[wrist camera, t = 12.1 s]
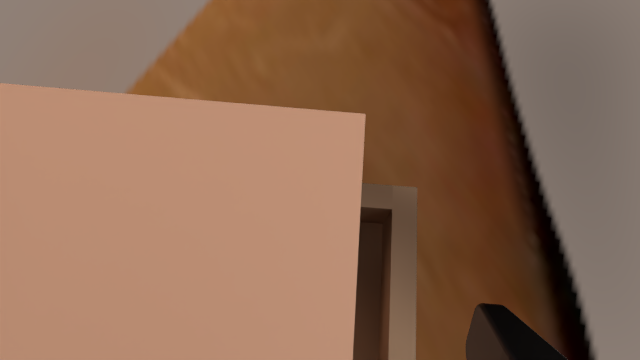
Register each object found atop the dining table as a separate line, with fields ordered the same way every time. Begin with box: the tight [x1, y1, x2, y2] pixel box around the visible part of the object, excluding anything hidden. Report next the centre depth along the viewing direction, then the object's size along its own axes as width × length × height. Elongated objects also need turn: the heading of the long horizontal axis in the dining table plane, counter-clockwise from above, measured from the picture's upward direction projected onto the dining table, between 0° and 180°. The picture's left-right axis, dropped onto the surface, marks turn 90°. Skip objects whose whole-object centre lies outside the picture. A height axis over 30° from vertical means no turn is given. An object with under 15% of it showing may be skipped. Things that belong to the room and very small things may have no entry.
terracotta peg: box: [0, 83, 365, 360], centre depth 11 cm, size 4×4×12 cm
